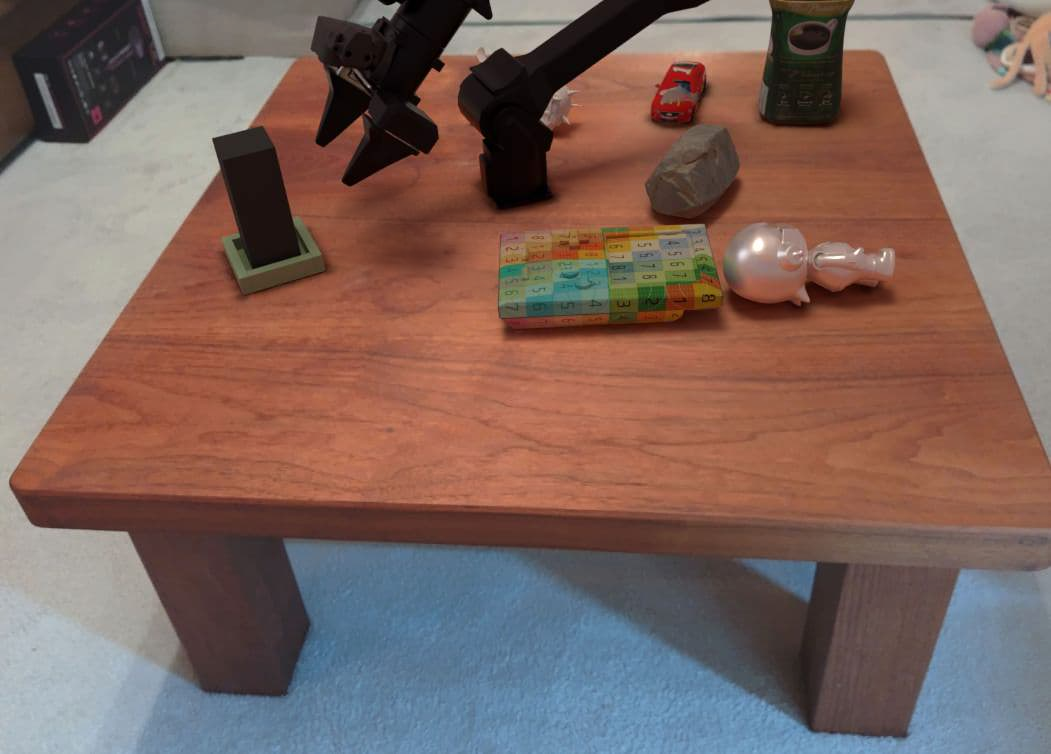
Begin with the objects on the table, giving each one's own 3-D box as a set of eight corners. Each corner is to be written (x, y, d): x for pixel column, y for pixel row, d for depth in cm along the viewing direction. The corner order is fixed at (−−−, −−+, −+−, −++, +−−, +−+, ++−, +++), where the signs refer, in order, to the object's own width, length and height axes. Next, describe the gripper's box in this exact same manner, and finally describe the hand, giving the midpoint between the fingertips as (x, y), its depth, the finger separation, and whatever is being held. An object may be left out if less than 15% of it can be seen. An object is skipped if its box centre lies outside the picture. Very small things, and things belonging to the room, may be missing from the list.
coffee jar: (835, 98, 124) (859, -58, 112) (841, 128, 118) (867, -33, 106) (755, 97, 126) (771, -57, 114) (757, 126, 120) (773, -32, 108)
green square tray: (303, 231, 108) (299, 215, 107) (325, 270, 102) (322, 254, 101) (225, 253, 106) (220, 237, 104) (243, 295, 100) (238, 279, 98)
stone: (678, 165, 114) (681, 101, 109) (746, 178, 111) (753, 113, 106) (634, 219, 106) (635, 152, 101) (707, 235, 103) (711, 167, 98)
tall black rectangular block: (291, 238, 106) (262, 125, 98) (303, 261, 103) (275, 146, 94) (244, 251, 105) (211, 137, 96) (255, 275, 101) (222, 160, 93)
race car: (689, 131, 120) (691, 100, 118) (645, 126, 122) (645, 95, 119) (711, 83, 129) (713, 53, 127) (670, 79, 131) (671, 49, 128)
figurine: (911, 223, 88) (746, 204, 87) (906, 306, 88) (740, 289, 86) (859, 246, 99) (711, 230, 97) (855, 321, 98) (705, 306, 97)
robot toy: (434, 111, 119) (542, 137, 113) (449, 35, 116) (559, 57, 111) (494, 123, 132) (593, 147, 126) (509, 55, 130) (610, 76, 124)
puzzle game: (499, 226, 98) (705, 215, 97) (503, 266, 101) (702, 256, 100) (497, 298, 89) (723, 287, 88) (501, 339, 92) (720, 329, 91)
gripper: (323, -46, 97) (240, 89, 101) (387, 16, 84) (288, 168, 88) (411, 16, 105) (329, 139, 109) (481, 83, 92) (386, 220, 96)
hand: (331, 163), depth 100 cm, fingers open, 9 cm apart
